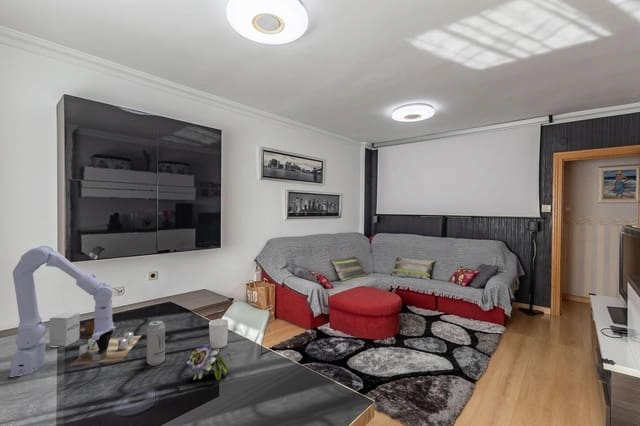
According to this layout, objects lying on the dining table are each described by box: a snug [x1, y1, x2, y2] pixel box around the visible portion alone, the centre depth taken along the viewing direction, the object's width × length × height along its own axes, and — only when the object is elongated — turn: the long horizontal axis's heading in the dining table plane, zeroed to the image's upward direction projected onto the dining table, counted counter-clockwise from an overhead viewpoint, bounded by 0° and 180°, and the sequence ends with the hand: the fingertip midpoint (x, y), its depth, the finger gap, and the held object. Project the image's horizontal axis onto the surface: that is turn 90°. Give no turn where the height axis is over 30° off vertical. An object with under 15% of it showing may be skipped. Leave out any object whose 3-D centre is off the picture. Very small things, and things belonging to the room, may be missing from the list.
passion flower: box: [186, 341, 233, 382], centre depth 107 cm, size 13×12×14 cm
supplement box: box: [48, 312, 81, 347], centre depth 131 cm, size 7×7×13 cm
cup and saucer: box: [79, 319, 95, 339], centre depth 141 cm, size 12×12×6 cm
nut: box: [91, 350, 107, 362], centre depth 116 cm, size 5×4×2 cm
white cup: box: [208, 318, 229, 349], centre depth 130 cm, size 8×8×10 cm
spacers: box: [79, 331, 134, 358], centre depth 127 cm, size 17×15×4 cm
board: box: [69, 335, 142, 366], centre depth 125 cm, size 24×17×1 cm
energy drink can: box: [146, 320, 166, 367], centre depth 115 cm, size 6×6×15 cm
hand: (103, 351), depth 120 cm, fingers closed
